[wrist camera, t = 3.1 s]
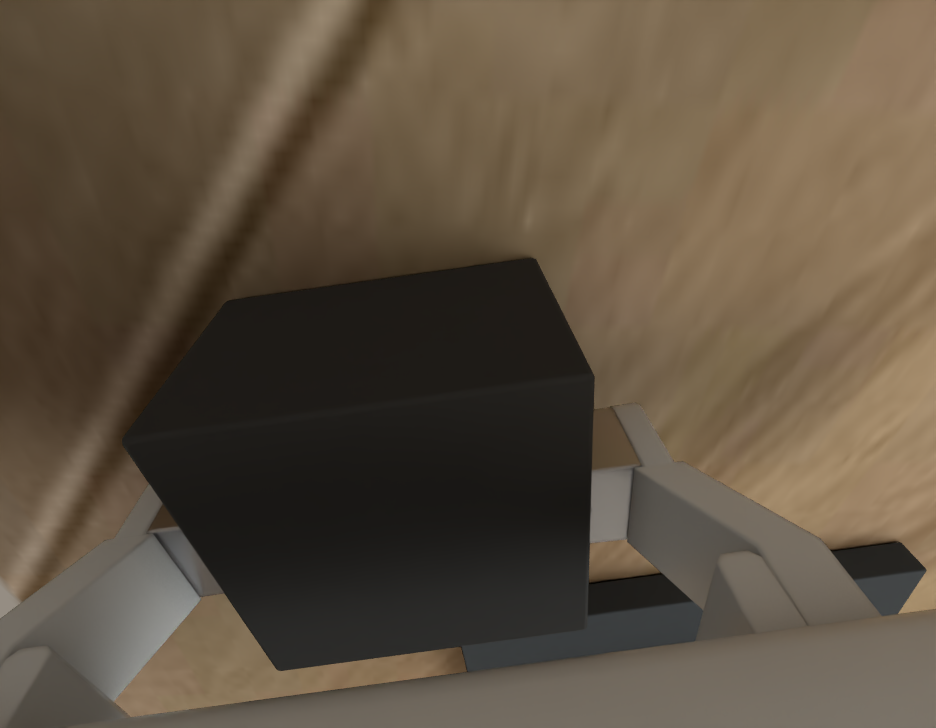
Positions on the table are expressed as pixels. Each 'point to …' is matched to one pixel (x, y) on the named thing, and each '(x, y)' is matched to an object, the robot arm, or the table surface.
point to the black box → (384, 463)
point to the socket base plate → (681, 611)
